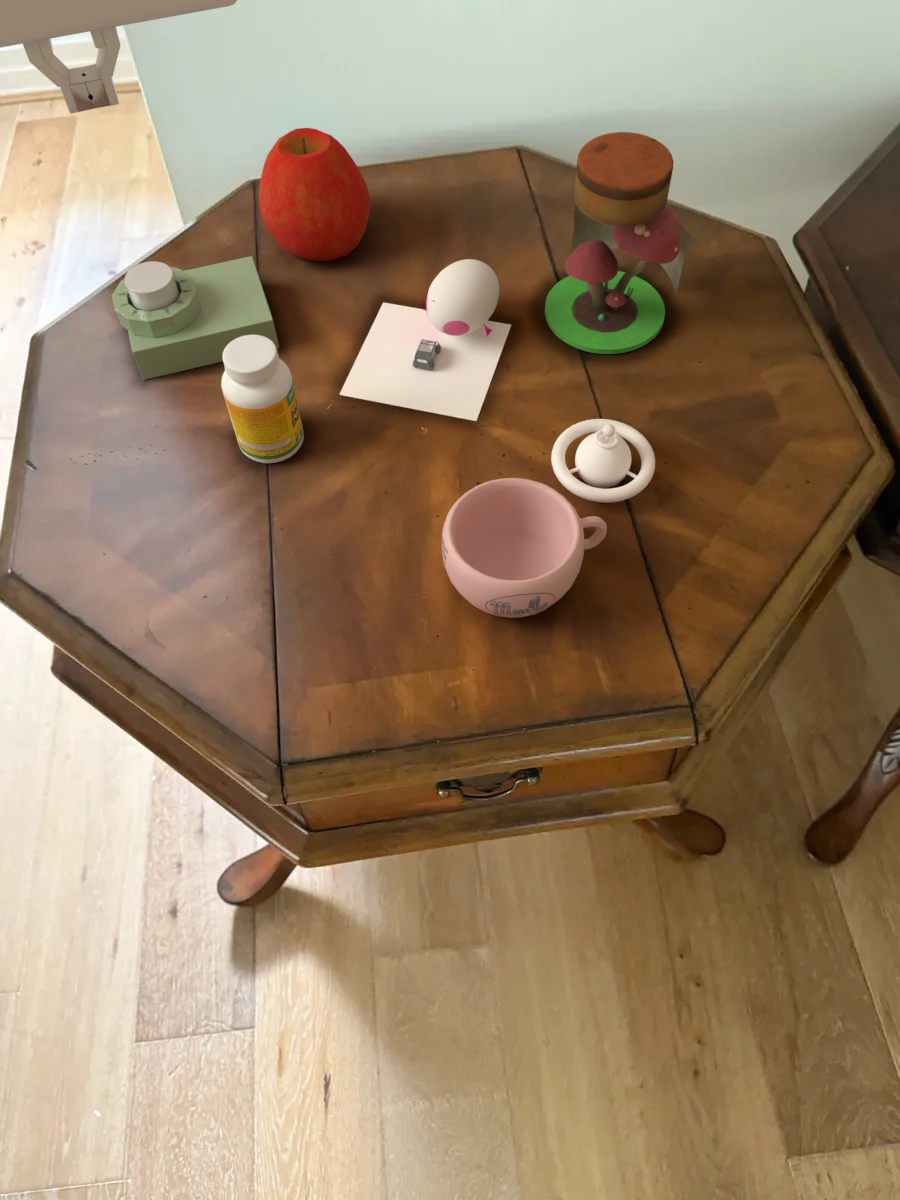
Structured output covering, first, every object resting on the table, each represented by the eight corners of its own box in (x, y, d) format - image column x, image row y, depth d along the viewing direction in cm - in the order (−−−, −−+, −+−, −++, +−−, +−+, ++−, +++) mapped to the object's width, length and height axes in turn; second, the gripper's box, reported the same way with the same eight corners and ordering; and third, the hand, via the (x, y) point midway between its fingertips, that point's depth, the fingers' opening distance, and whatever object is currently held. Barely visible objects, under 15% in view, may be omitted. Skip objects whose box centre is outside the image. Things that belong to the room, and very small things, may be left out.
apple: (257, 218, 95) (235, 116, 86) (359, 197, 97) (347, 94, 88) (279, 284, 90) (257, 181, 81) (386, 260, 91) (376, 157, 82)
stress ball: (462, 321, 91) (425, 260, 87) (529, 301, 85) (492, 235, 82) (424, 371, 87) (384, 308, 83) (492, 353, 81) (452, 285, 78)
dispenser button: (135, 316, 81) (127, 297, 79) (128, 287, 83) (121, 267, 81) (182, 306, 81) (176, 286, 80) (175, 276, 83) (168, 256, 82)
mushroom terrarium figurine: (661, 376, 82) (695, 221, 69) (521, 340, 85) (529, 185, 72) (695, 289, 88) (732, 132, 75) (563, 258, 91) (577, 102, 78)
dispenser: (137, 381, 83) (119, 336, 79) (124, 314, 88) (106, 268, 84) (279, 348, 85) (269, 302, 81) (258, 284, 90) (248, 238, 86)
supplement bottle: (234, 425, 80) (207, 335, 72) (297, 410, 81) (277, 320, 73) (245, 473, 77) (219, 385, 69) (311, 457, 78) (292, 368, 70)
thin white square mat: (511, 324, 86) (511, 311, 85) (476, 421, 80) (476, 408, 78) (383, 302, 88) (381, 288, 87) (339, 394, 82) (337, 381, 80)
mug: (461, 648, 68) (460, 603, 63) (429, 539, 73) (425, 488, 68) (624, 611, 69) (635, 564, 64) (580, 506, 75) (588, 455, 70)
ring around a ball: (619, 423, 79) (531, 455, 77) (630, 373, 74) (536, 406, 73) (670, 494, 75) (579, 529, 74) (684, 446, 70) (587, 483, 69)
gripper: (201, -233, 49) (254, 45, 61) (-222, -172, 46) (-82, 109, 58) (224, -187, 46) (275, 98, 58) (-230, -118, 43) (-80, 168, 55)
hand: (94, 104), depth 58 cm, fingers closed
